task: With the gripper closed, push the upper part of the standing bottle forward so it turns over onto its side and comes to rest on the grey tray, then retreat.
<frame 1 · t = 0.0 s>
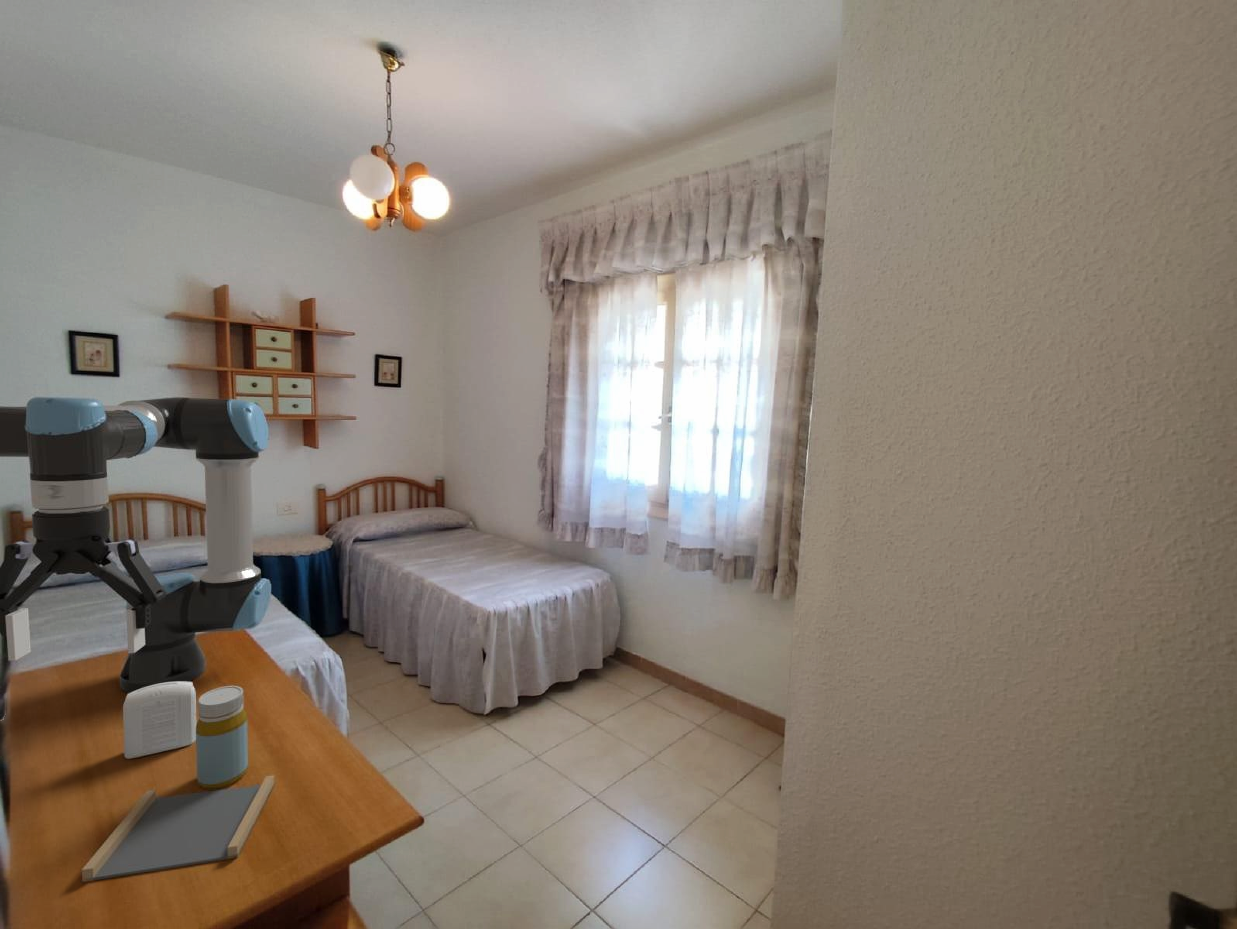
hand: (79, 652, 76), 28 cm above the table, fingers open, 13 cm apart
photo printer: (162, 748, 98), on the table
bottle: (223, 777, 92), on the table
grey tray: (189, 827, 81), on the table
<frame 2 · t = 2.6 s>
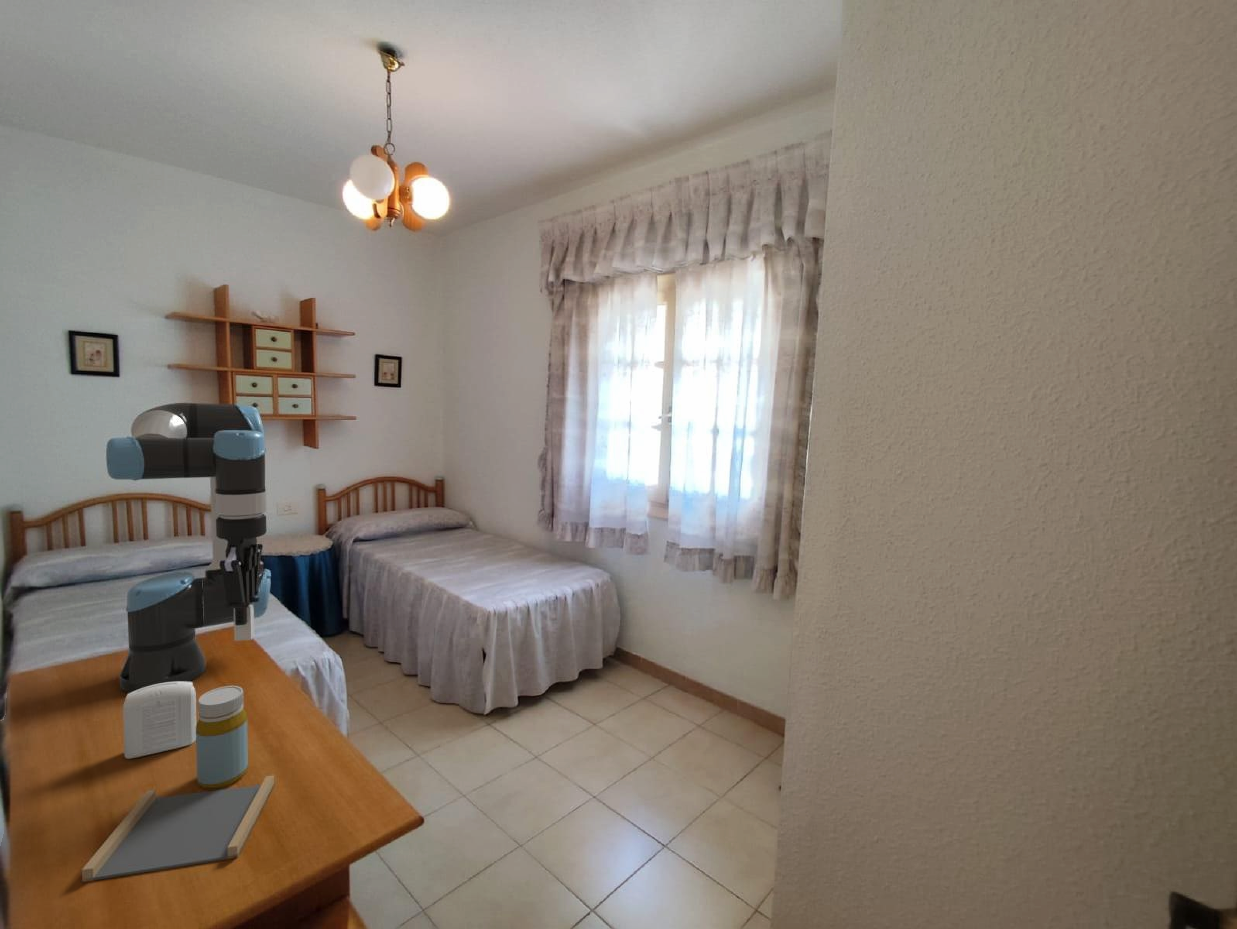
hand: (244, 638, 99), 21 cm above the table, fingers closed
nothing on the table moved.
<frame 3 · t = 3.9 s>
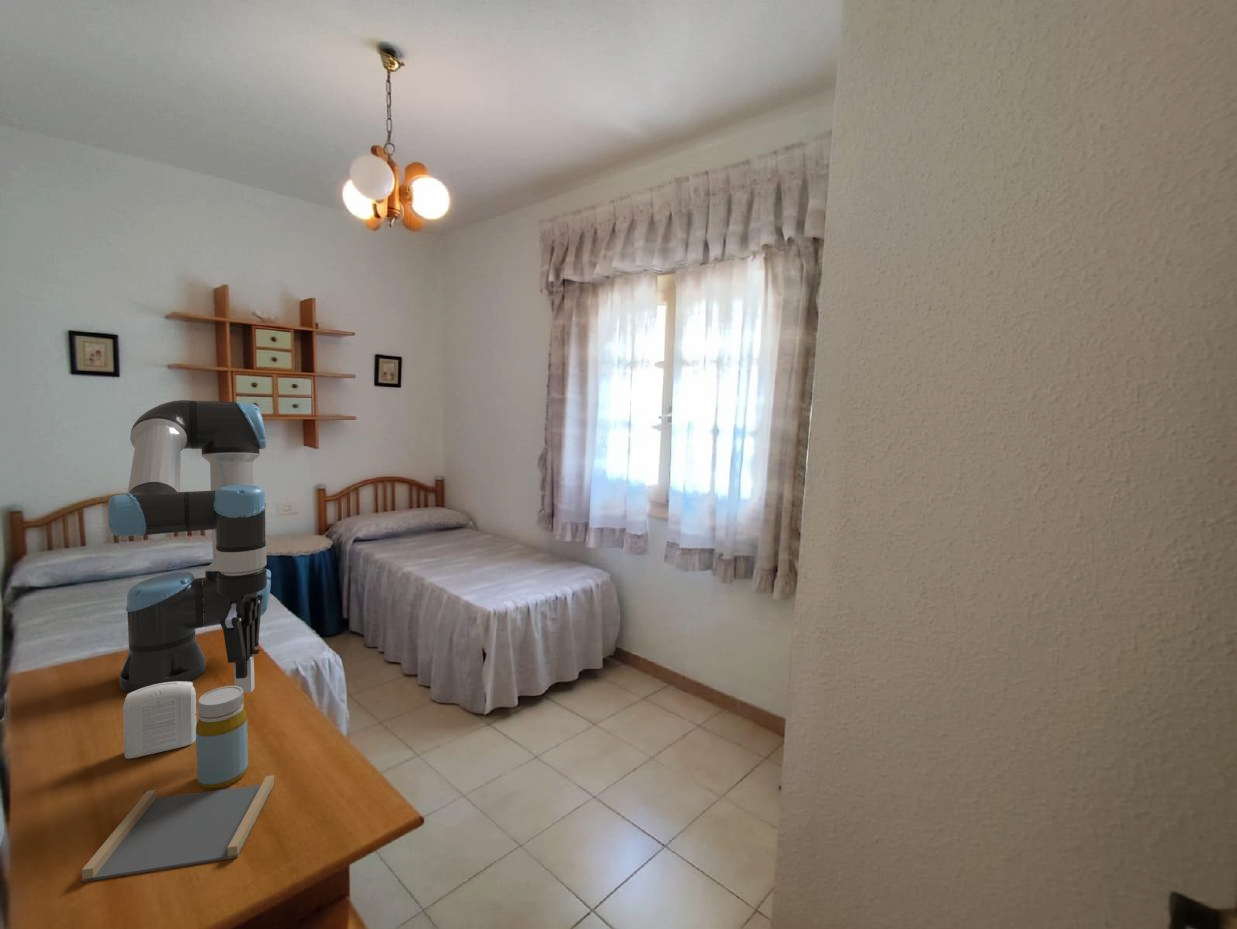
hand: (244, 690, 100), 10 cm above the table, fingers closed
nothing on the table moved.
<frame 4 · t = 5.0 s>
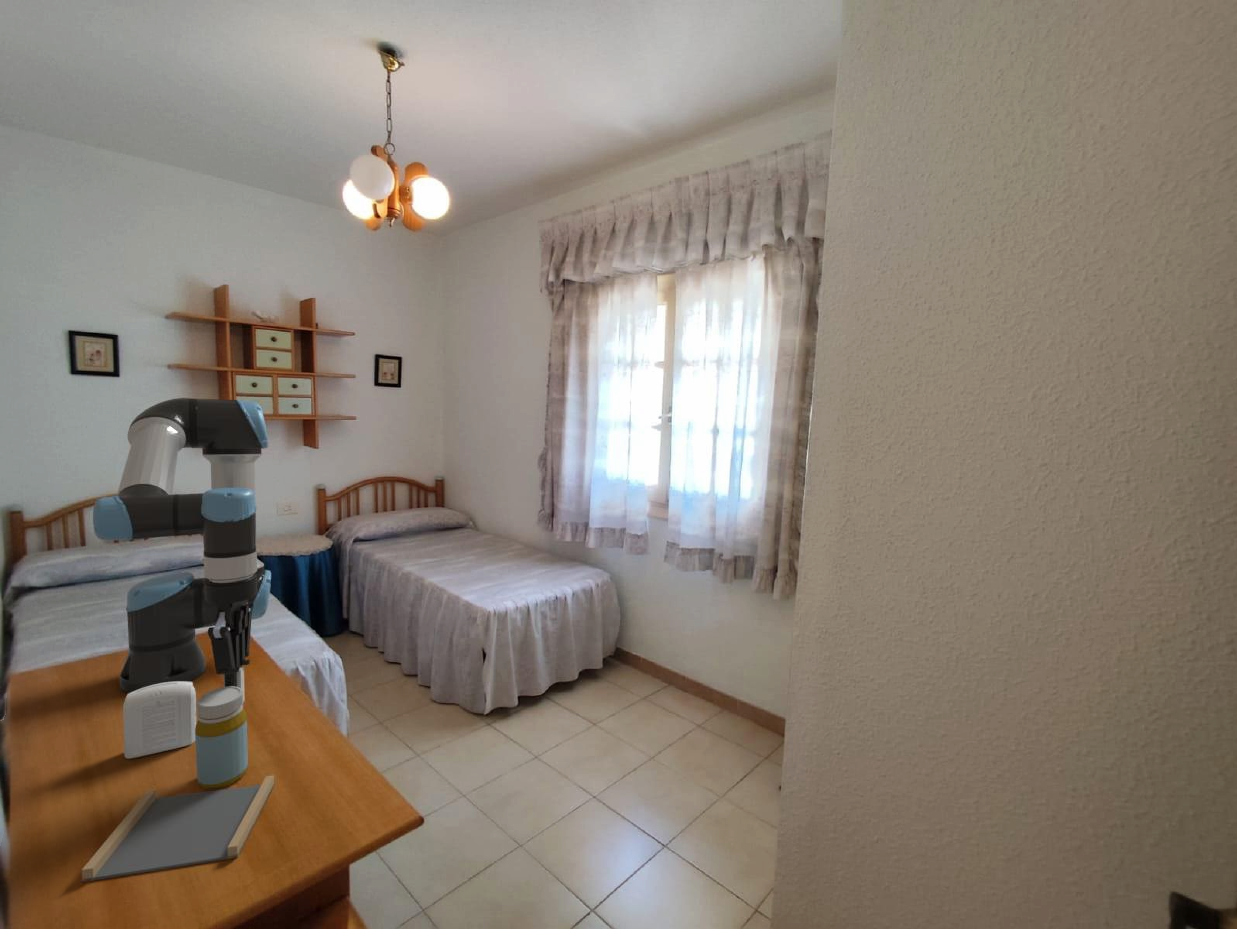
hand: (234, 703, 95), 11 cm above the table, fingers closed
bottle: (223, 777, 92), on the table, touching gripper
everything else where it was.
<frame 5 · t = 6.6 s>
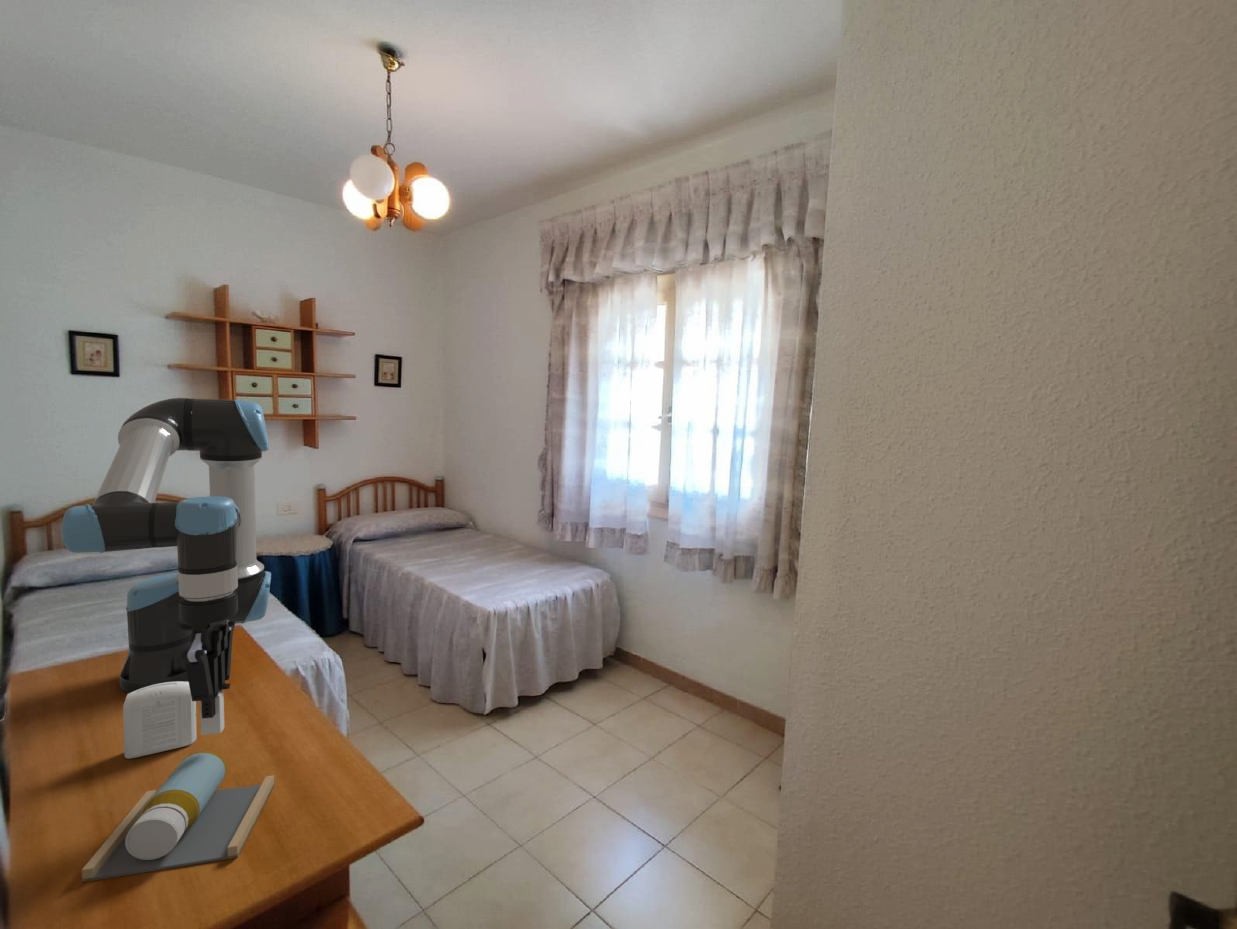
hand: (212, 731, 87), 11 cm above the table, fingers closed
bottle: (205, 767, 88), point 4 cm above the table, touching grey tray
everything else where it was.
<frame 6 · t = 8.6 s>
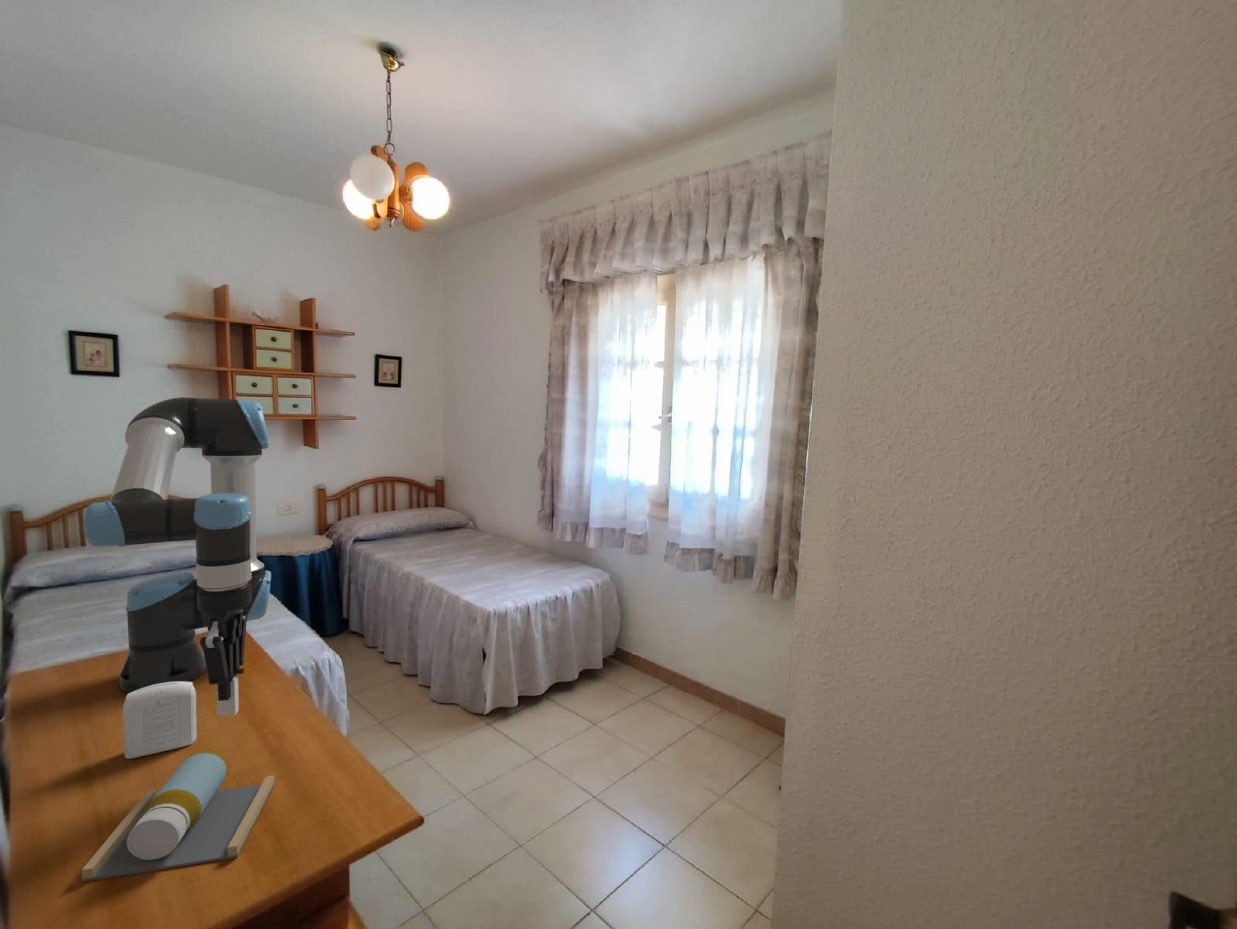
hand: (228, 713, 93), 10 cm above the table, fingers closed
nothing on the table moved.
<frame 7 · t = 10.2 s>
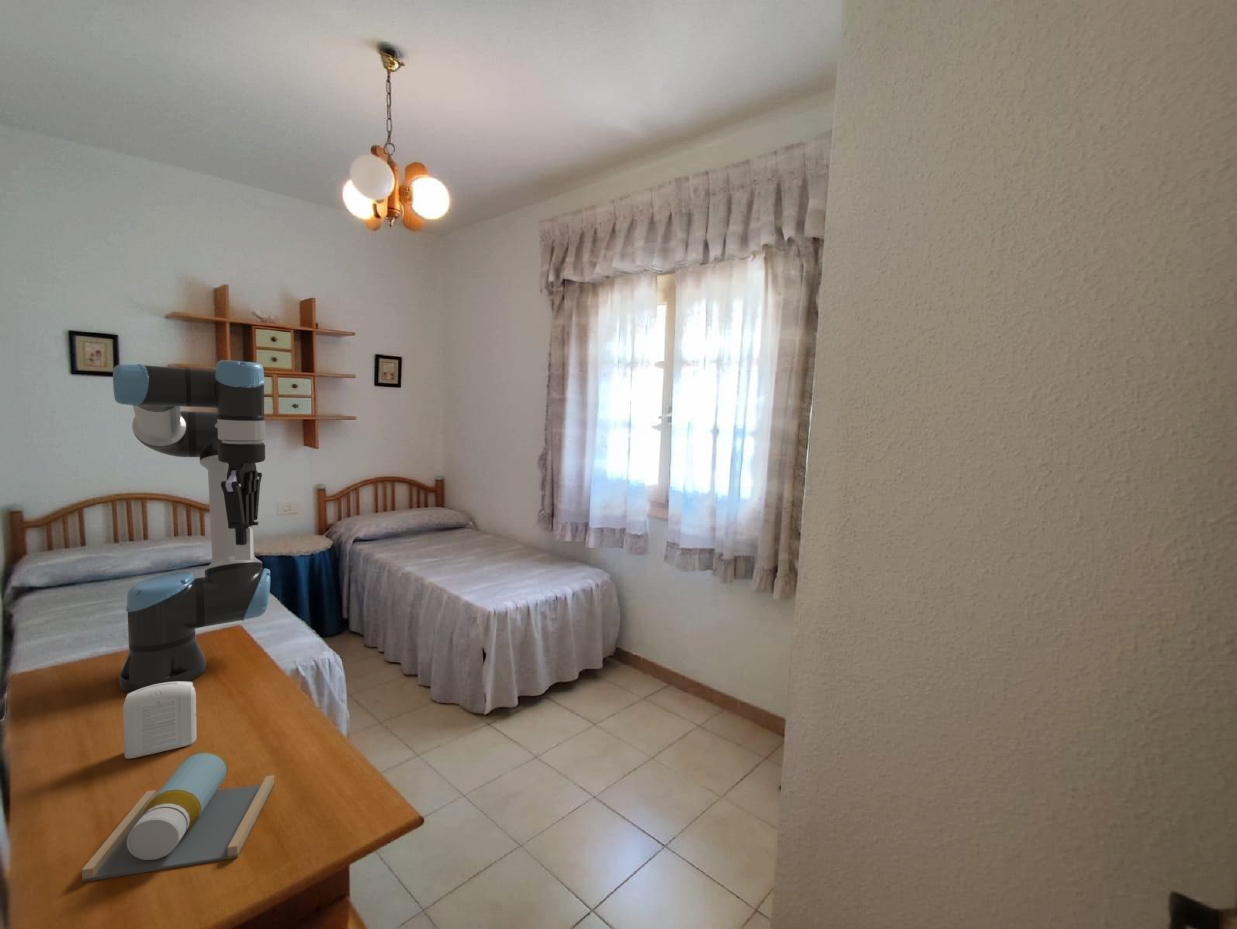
hand: (244, 558, 105), 33 cm above the table, fingers closed
nothing on the table moved.
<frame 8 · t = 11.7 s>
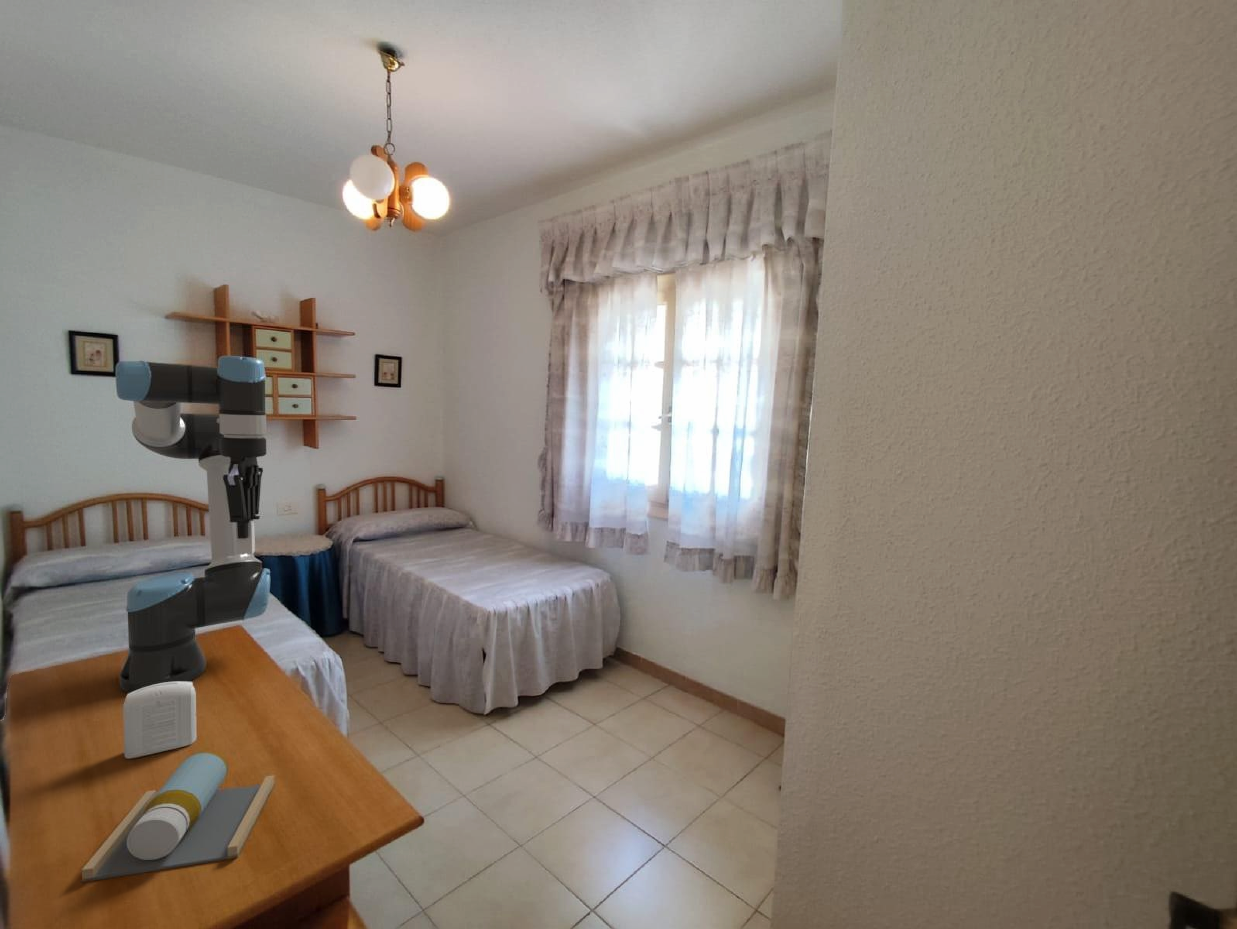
hand: (245, 552, 106), 34 cm above the table, fingers closed
nothing on the table moved.
at the end: bottle tilted 90°; bottle inside the target area (7.4 cm from its centre), point 3.9 cm above the table; the gripper is holding nothing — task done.
